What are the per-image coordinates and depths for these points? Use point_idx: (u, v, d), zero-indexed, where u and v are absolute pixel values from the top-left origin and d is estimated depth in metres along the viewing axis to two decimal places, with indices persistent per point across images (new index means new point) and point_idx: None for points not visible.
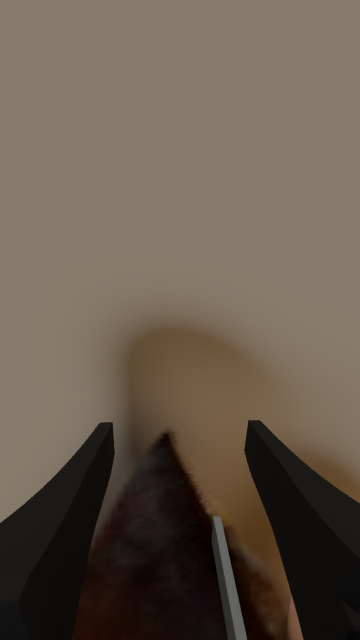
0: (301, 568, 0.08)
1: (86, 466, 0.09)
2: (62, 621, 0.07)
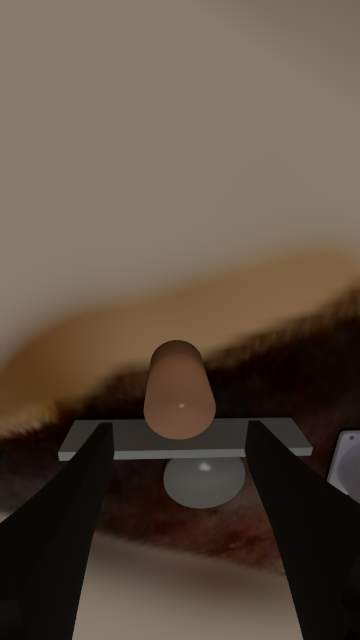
0: (301, 568, 0.08)
1: (86, 466, 0.09)
2: (62, 621, 0.07)
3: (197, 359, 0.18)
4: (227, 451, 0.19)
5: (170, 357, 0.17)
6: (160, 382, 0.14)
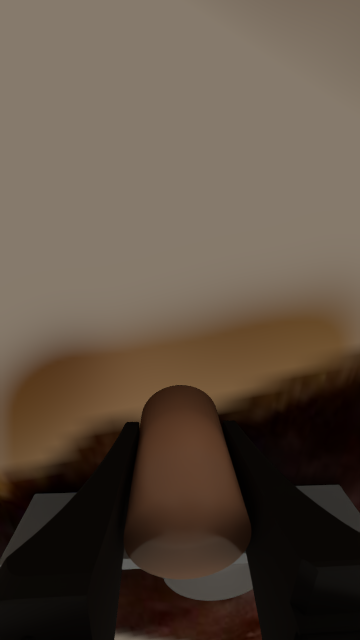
0: (261, 570, 0.08)
1: (122, 465, 0.09)
2: (109, 618, 0.07)
3: (213, 424, 0.11)
4: None
5: (171, 425, 0.10)
6: (153, 495, 0.08)
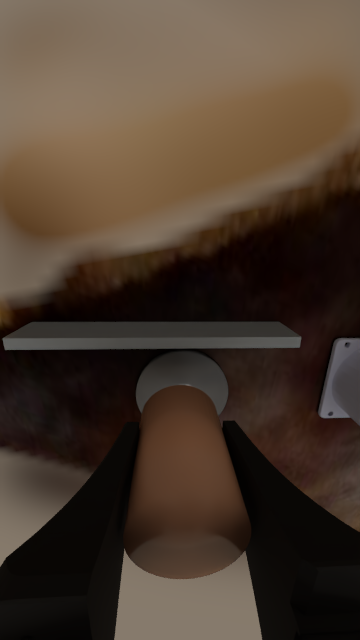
0: (261, 570, 0.08)
1: (122, 465, 0.09)
2: (109, 618, 0.07)
3: (213, 423, 0.11)
4: (202, 340, 0.16)
5: (171, 424, 0.10)
6: (152, 494, 0.08)
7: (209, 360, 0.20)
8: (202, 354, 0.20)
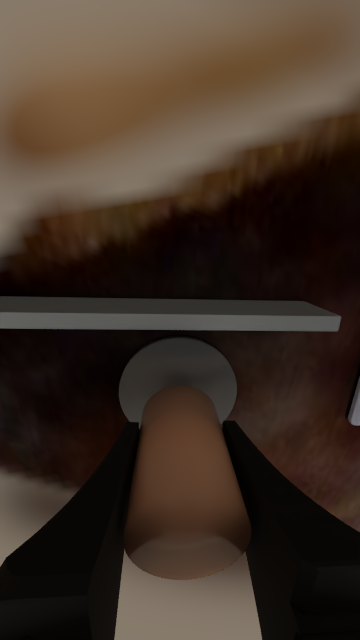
0: (261, 570, 0.08)
1: (122, 465, 0.09)
2: (109, 618, 0.07)
3: (213, 424, 0.11)
4: (205, 319, 0.12)
5: (171, 425, 0.10)
6: (152, 495, 0.08)
7: (214, 350, 0.15)
8: (204, 342, 0.15)
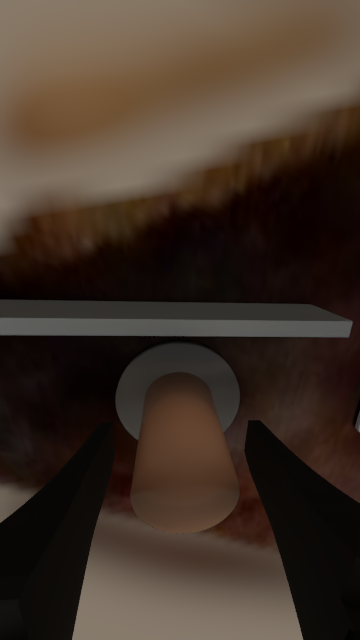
0: (301, 568, 0.08)
1: (86, 466, 0.09)
2: (62, 621, 0.07)
3: (208, 404, 0.13)
4: (207, 324, 0.11)
5: (171, 403, 0.12)
6: (155, 457, 0.09)
7: (216, 355, 0.14)
8: (206, 347, 0.15)
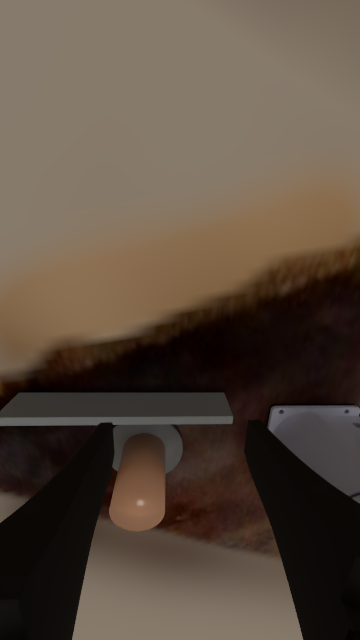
0: (301, 568, 0.08)
1: (86, 466, 0.09)
2: (62, 621, 0.07)
3: (157, 457, 0.22)
4: (153, 419, 0.20)
5: (134, 459, 0.21)
6: (121, 493, 0.19)
7: (166, 424, 0.24)
8: None
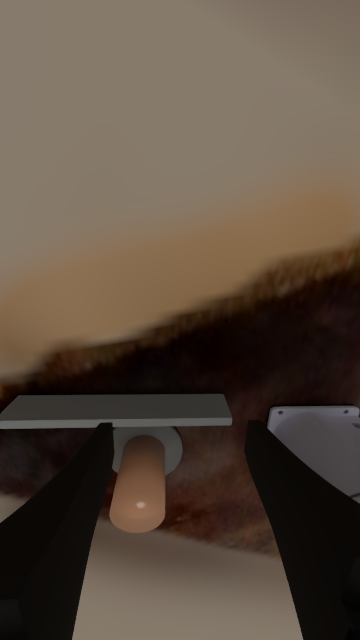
0: (301, 568, 0.08)
1: (86, 466, 0.09)
2: (62, 621, 0.07)
3: (157, 459, 0.22)
4: (152, 421, 0.20)
5: (134, 461, 0.21)
6: (121, 495, 0.19)
7: None
8: None
